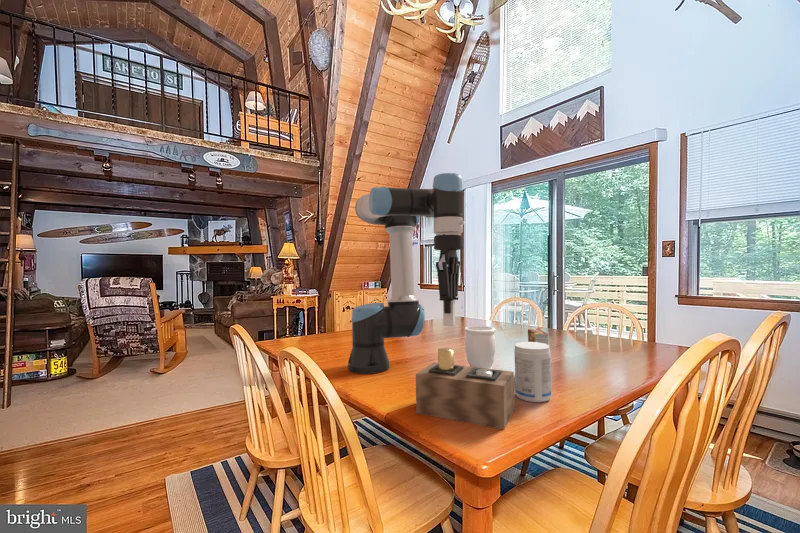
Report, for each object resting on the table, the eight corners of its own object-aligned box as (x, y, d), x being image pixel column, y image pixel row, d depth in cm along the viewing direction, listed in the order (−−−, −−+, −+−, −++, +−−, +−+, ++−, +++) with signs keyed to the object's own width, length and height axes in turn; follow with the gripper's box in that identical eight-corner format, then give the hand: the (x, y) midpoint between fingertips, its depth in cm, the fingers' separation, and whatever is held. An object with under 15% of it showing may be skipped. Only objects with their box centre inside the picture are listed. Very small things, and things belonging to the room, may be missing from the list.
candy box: (527, 372, 128) (527, 328, 127) (540, 372, 127) (540, 328, 127) (535, 381, 119) (535, 333, 119) (549, 381, 118) (549, 333, 118)
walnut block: (416, 413, 95) (415, 371, 95) (434, 397, 106) (433, 360, 106) (504, 429, 85) (503, 383, 85) (514, 410, 96) (513, 369, 95)
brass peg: (436, 389, 97) (435, 350, 97) (442, 384, 100) (441, 347, 100) (451, 391, 95) (450, 351, 95) (456, 386, 98) (455, 348, 98)
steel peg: (474, 412, 92) (474, 372, 92) (479, 407, 96) (478, 368, 96) (490, 415, 90) (490, 374, 90) (494, 409, 94) (494, 370, 94)
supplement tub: (542, 390, 110) (541, 340, 110) (557, 402, 100) (557, 348, 100) (510, 392, 109) (509, 341, 109) (522, 404, 100) (521, 349, 100)
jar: (459, 369, 134) (459, 327, 133) (483, 365, 138) (482, 324, 138) (477, 377, 124) (477, 331, 124) (502, 372, 128) (501, 329, 128)
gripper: (454, 232, 89) (455, 331, 90) (469, 235, 101) (470, 322, 101) (425, 233, 92) (426, 328, 93) (443, 236, 104) (444, 320, 105)
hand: (449, 325), depth 97 cm, fingers closed
